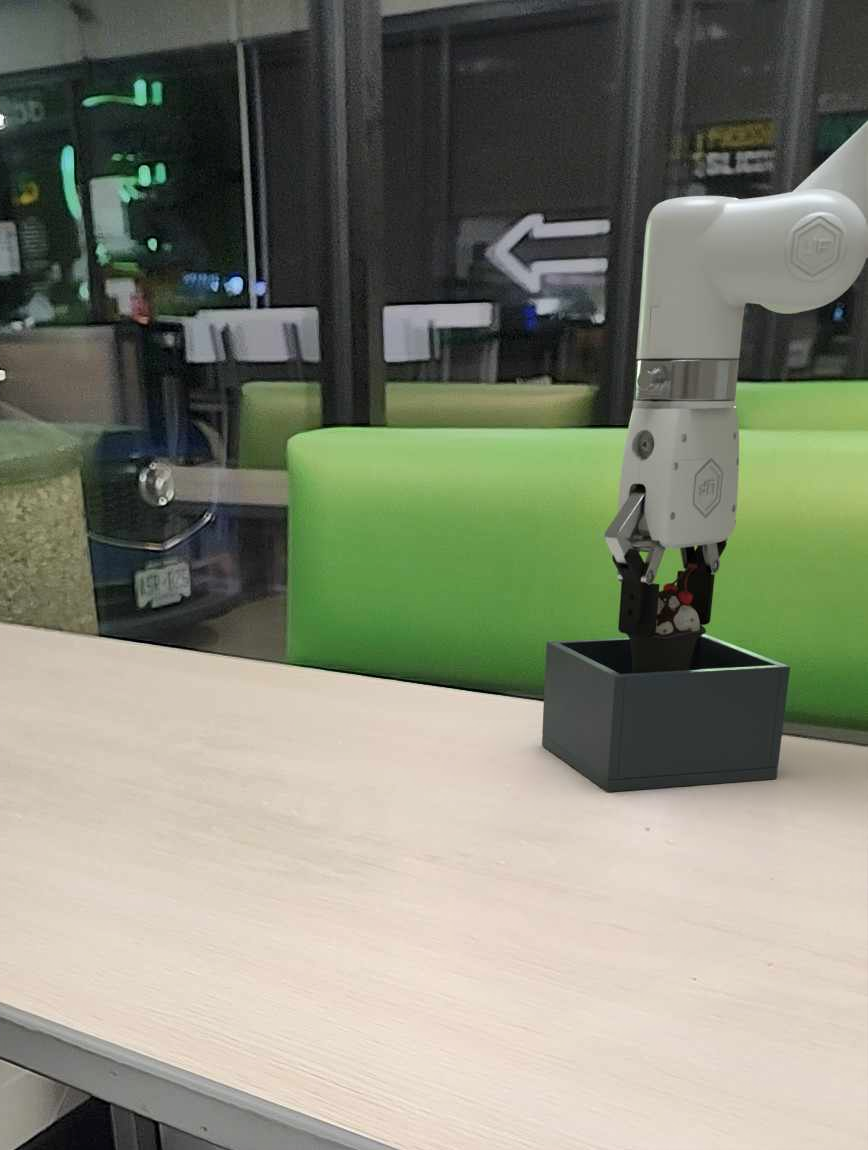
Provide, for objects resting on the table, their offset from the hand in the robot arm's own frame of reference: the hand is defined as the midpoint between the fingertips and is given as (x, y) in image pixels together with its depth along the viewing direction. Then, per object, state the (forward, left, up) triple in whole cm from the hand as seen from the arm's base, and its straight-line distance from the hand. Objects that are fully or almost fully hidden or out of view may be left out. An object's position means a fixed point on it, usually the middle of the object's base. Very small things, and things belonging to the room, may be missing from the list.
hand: (664, 626), depth 107 cm
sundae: (0, 0, -10) cm, 10 cm away
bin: (0, 0, -11) cm, 11 cm away
